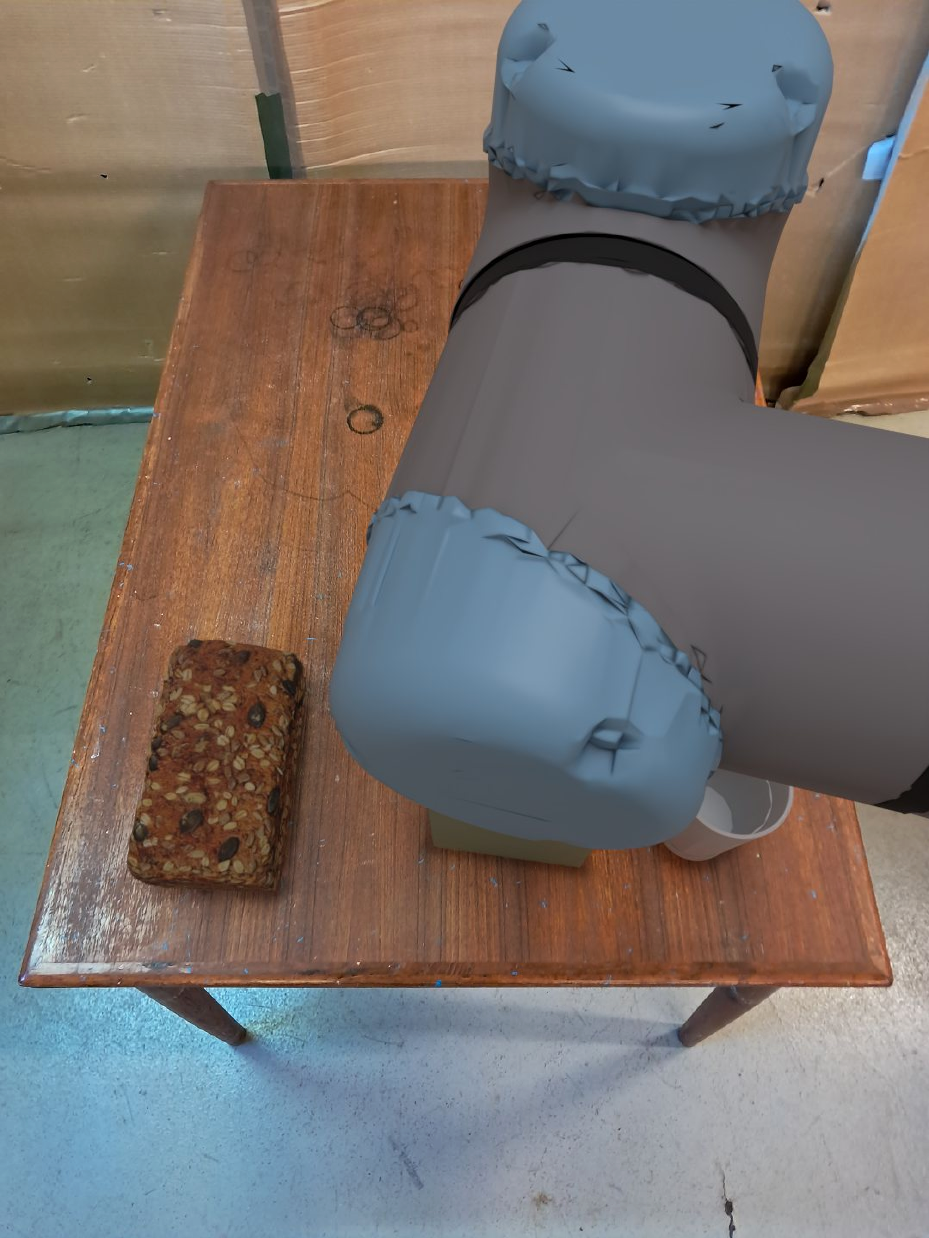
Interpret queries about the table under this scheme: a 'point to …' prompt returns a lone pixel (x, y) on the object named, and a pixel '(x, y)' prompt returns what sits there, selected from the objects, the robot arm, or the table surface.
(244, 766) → the bread
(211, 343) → the table surface
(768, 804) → the cup
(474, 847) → the pedestal
